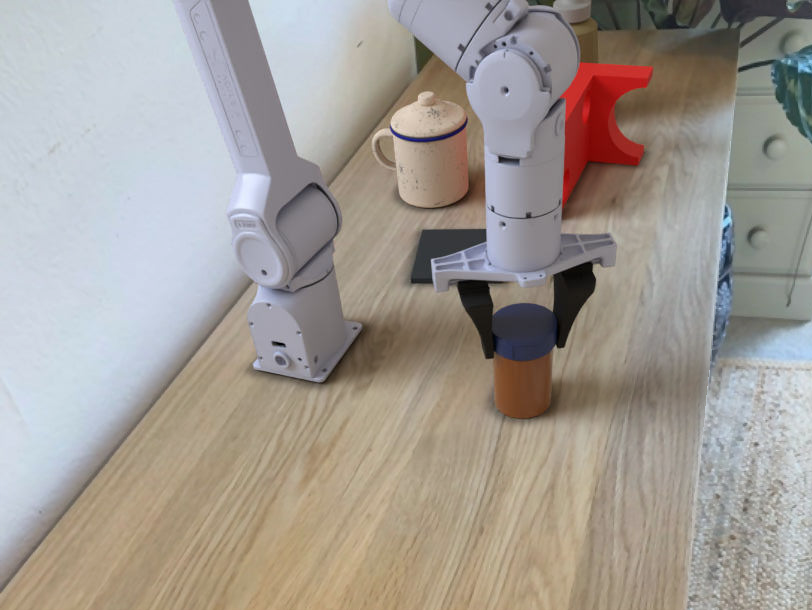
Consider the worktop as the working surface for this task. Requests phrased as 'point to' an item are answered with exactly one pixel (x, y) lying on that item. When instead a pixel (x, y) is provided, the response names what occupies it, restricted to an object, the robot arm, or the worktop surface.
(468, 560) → the worktop surface
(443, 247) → the coaster
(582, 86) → the bracket
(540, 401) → the jar
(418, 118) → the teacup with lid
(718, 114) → the worktop surface
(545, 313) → the jar lid
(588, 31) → the squeeze bottle
